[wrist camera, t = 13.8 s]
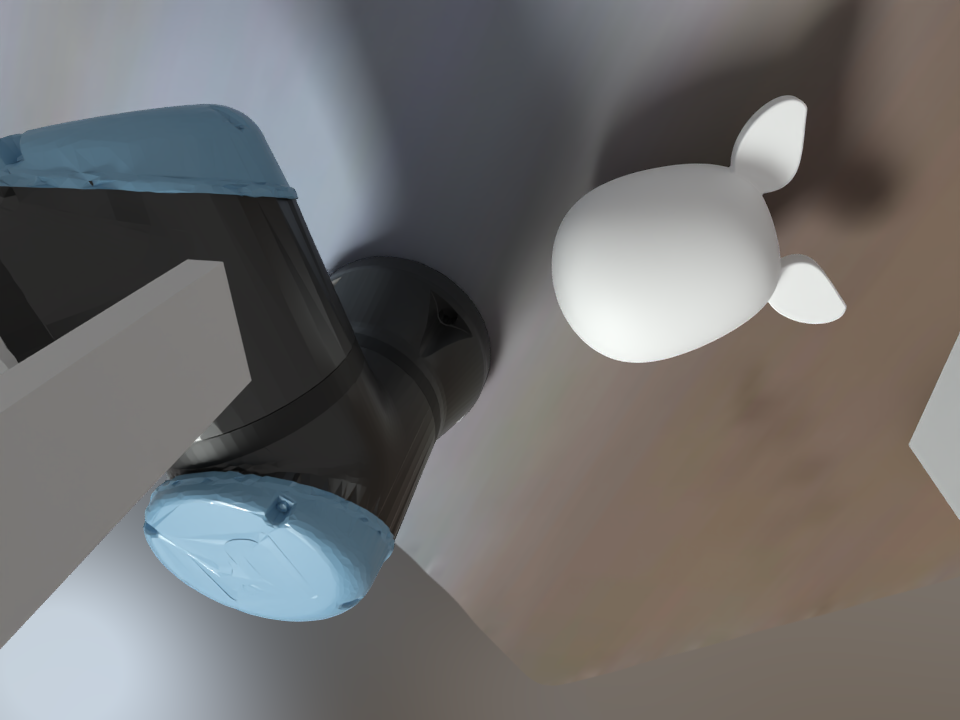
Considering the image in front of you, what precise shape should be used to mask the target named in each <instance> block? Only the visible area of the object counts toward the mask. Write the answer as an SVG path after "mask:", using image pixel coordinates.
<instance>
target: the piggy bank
mask: <svg viewBox="0 0 960 720" xmlns="http://www.w3.org/2000/svg"><path fill="white" fill-rule="evenodd" d="M806 116H807V106H806V104H805V103H804V102H803V101H802V100H800V99H798V98H797V97H795V96H791V95H785V96H780V97H777V98H775V99H773V100H771V101H769V102H768V103H766V104H765V105H764V106H762V107H761V108H760V109H759V110H758V111H757V112H756V113H755V114H754V115H753V116H752V117H751V118H750V119H749V120H748V121H747V123H746V124H745V125H744V127H743V128H742V130H741V132H740V133H739V135H738V137H737V139H736V142H735V144H734V147H733V151H732V155H731V165H730V167H724V166H720V165H714V164H680V165H671V166H664V167H658V168H653V169H648V170H644V171H639V172H636V173H632V174H628V175H625V176H622V177H619V178H617V179H614V180H612V181H609V182H607V183H605V184H603V185H600V186H599V187H597V188H595V189H593V190H592V191H590V192H589V193H587V194H586V195H584V196H583V197H582V198H581V199H579V200H578V201H577V202H576V203H575V204H574V205H573V206H572V208H571V209H570V210H569V211H568V213H567V214H566V216H565V217H564V219H563V220H562V222H561V224H560V227H559V229H558V232H557V234H556V238H555V241H554V246H553V252H552V279H553V286H554V290H555V294H556V298H557V301H558V303H559V306H560V308H561V310H562V312H563V314H564V316H565V318H566V320H567V321H568V323H569V324H570V326H571V327H572V329H573V330H574V331H575V332H576V334H577V335H578V336H579V337H580V338H581V339H582V340H583V341H584V342H585V343H586V344H588V345H589V346H590V347H591V348H593V349H594V350H596V351H597V352H599V353H601V354H603V355H605V356H607V357H609V358H612V359H615V360H619V361H624V362H633V363H642V362H653V361H659V360H663V359H667V358H671V357H675V356H678V355H681V354H684V353H687V352H689V351H692V350H694V349H697V348H699V347H702V346H704V345H706V344H708V343H710V342H713V341H715V340H716V339H718V338H720V337H722V336H724V335H726V334H728V333H729V332H731V331H733V330H735V329H736V328H738V327H739V326H741V325H742V324H744V323H745V322H747V321H748V320H749V319H751V318H752V317H753V316H754V315H755V314H757V313H758V312H759V311H760V310H761V309H762V308H763V307H764V306H765V304H766V303H767V302H769V304H770V305H771V306H772V307H773V308H774V309H775V310H776V311H777V312H779V313H780V314H782V315H783V316H785V317H787V318H789V319H792V320H795V321H798V322H803V323H810V324H821V323H828V322H832V321H834V320H836V319H838V318H840V317H841V316H842V315H843V314H844V312H845V310H846V304H845V302H844V301H843V299H842V298H841V296H840V295H839V293H838V291H837V290H836V288H835V287H834V285H833V284H832V282H831V281H830V279H829V278H828V276H827V275H826V274H825V272H824V271H823V269H822V268H821V267H820V266H819V265H818V264H817V263H816V262H815V261H814V260H813V259H812V258H810V257H808V256H806V255H802V254H792V255H788V256H785V257H783V258H780V249H779V243H778V239H777V234H776V230H775V227H774V223H773V220H772V217H771V214H770V212H769V209H768V207H767V204H766V202H765V200H764V198H763V196H762V195H763V194H764V193H768V192H773V191H776V190H779V189H781V188H783V187H784V186H786V185H787V184H788V183H789V182H790V181H791V180H792V179H793V177H794V176H795V174H796V172H797V170H798V167H799V164H800V160H801V156H802V151H803V144H804V135H805V125H806Z"/></svg>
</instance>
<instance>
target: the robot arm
mask: <svg viewBox="0 0 960 720" xmlns="http://www.w3.org/2000/svg"><path fill="white" fill-rule="evenodd" d="M296 199H298V196H297V193H296V191H295V189H294V188H291V187H290V186H289V184H288V182H287V181H286V179H285V177H284V175H283V173H282V171H281V169H280V167H279V165H278V163H277V161H276V159H275V157H274V155H273V153H272V151H271V149H270V147H269V145H268V144H267V142H266V140H265V137H264V135H263V133H262V132H261V130H260V129H259V127H258V126H257V125H256V124H255V122H253V121H252V120H251V119H250V118H249V117H248V116H246V115H245V114H243V113H242V112H240V111H238V110H235V109H233V108H230V107H227V106H223V105H216V104H197V105H184V106H173V107H164V108H156V109H148V110H141V111H133V112H126V113H120V114H113V115H107V116H100V117H94V118H89V119H83V120H77V121H72V122H67V123H61V124H56V125H51V126H46V127H42V128H37V129H33V130H28V131H26V132H25V133H23V134H14V135H10V136H7V137H4V138H0V649H1V647H3V646H4V645H5V643H6V642H7V641H8V640H9V639H10V638H11V637H12V636H13V635H14V634H15V633H16V632H17V630H19V628H20V627H21V626H22V625H23V624H24V623H25V622H26V621H27V620H28V619H29V618H30V617H31V616H32V615H33V614H34V612H35V611H36V610H37V609H38V608H39V607H40V606H41V605H42V604H43V603H44V602H45V601H46V600H47V599H48V598H49V596H50V595H51V594H52V593H53V592H54V591H55V590H56V589H57V588H58V587H59V586H60V585H61V584H62V583H63V581H64V580H65V579H66V578H67V577H68V576H69V575H70V574H71V573H72V572H73V571H74V570H75V569H76V568H77V567H78V565H79V564H80V563H81V562H82V561H83V560H84V559H85V558H86V557H87V556H88V555H89V554H90V552H92V550H93V549H94V548H95V547H96V546H97V545H98V544H99V543H100V542H101V541H102V540H103V539H104V538H105V536H107V534H108V533H109V532H110V531H111V530H112V529H113V528H114V527H115V526H116V525H117V524H118V523H119V522H120V521H121V519H122V518H123V517H124V516H125V515H126V514H127V513H128V512H129V511H130V510H131V509H132V508H133V507H134V506H135V505H136V503H137V502H138V501H139V500H140V499H141V498H142V497H143V496H144V495H145V494H146V493H147V492H148V490H149V489H150V488H151V487H152V486H153V485H154V484H155V483H156V482H157V481H158V480H159V479H160V478H161V477H162V476H163V475H164V474H165V473H166V475H167V480H166V481H165V482H164V483H163V484H161V485H160V486H158V487H157V488H156V490H155V491H154V492H153V493H152V495H151V499H150V504H149V505H148V507H147V508H146V511H145V520H146V521H145V523H144V526H143V527H144V534H145V537H146V540H147V542H148V544H149V546H150V548H151V549H152V551H153V552H154V554H155V555H156V556H157V558H158V559H159V560H160V561H161V562H162V564H163V565H164V566H165V567H166V568H167V569H168V570H169V571H170V572H172V573H173V574H174V575H175V576H176V577H177V578H179V579H180V580H181V581H183V582H184V583H185V584H187V585H188V586H190V587H191V588H193V589H195V590H197V591H198V592H199V593H201V594H203V595H205V596H207V597H209V598H210V599H212V600H215V601H217V602H219V603H221V604H224V605H226V606H229V607H232V608H235V609H237V610H239V611H242V612H245V613H248V614H252V615H255V616H260V617H264V618H269V619H275V620H283V621H313V620H322V619H326V618H330V617H333V616H336V615H338V614H341V613H343V612H345V611H347V610H349V609H351V608H352V607H353V606H355V605H356V604H357V603H358V602H359V601H360V600H361V599H362V598H363V597H364V596H365V595H366V593H367V592H368V591H369V589H370V588H371V586H372V584H373V582H374V580H375V578H376V576H377V574H378V572H379V570H380V568H381V566H382V564H383V562H384V561H385V560H386V559H387V558H388V557H389V556H390V555H391V554H392V551H393V549H394V545H395V544H394V542H395V538H396V536H397V534H398V531H399V529H400V526H401V524H402V521H403V519H404V516H405V514H406V512H407V509H408V507H409V504H410V502H411V499H412V497H413V494H414V492H415V490H416V487H417V485H418V482H419V480H420V477H421V475H422V472H423V470H424V468H425V465H426V463H427V460H428V458H429V456H430V453H431V451H432V449H433V446H434V444H435V441H436V440H437V439H438V438H440V437H441V436H442V435H443V434H444V433H446V432H447V431H448V430H449V429H450V428H451V427H452V426H453V425H455V424H456V423H457V422H458V421H460V420H461V419H462V418H463V417H464V416H465V415H466V414H467V413H468V412H469V411H470V410H471V408H472V407H473V406H474V404H475V403H476V401H477V400H478V398H479V396H480V394H481V391H482V389H483V386H484V383H485V381H486V378H487V375H488V371H489V367H490V356H491V352H490V342H489V337H488V333H487V330H486V327H485V324H484V322H483V320H482V318H481V316H480V314H479V312H478V310H477V309H476V307H475V306H474V304H473V303H472V302H471V300H470V299H469V298H468V297H467V295H466V294H465V293H464V292H463V291H462V290H461V289H460V288H459V287H458V286H457V285H455V284H454V283H453V282H452V281H451V280H449V279H448V278H447V277H445V276H444V275H442V274H441V273H439V272H437V271H435V270H434V269H432V268H429V267H427V266H425V265H423V264H420V263H417V262H414V261H411V260H407V259H402V258H396V257H372V258H366V259H361V260H358V261H355V262H352V263H350V264H348V265H346V266H344V267H342V268H340V269H339V270H337V271H336V272H335V273H333V274H332V275H331V276H330V277H329V275H328V273H327V270H326V268H325V266H324V264H323V261H322V259H321V257H320V255H319V252H318V250H317V248H316V246H315V243H314V241H313V239H312V237H311V234H310V232H309V230H308V227H307V225H306V223H305V220H304V218H303V216H302V213H301V211H300V208H299V206H298V204H297V201H296ZM909 446H910V448H911V449H912V451H913V452H914V454H915V455H916V457H917V458H918V460H919V461H920V462H921V464H922V465H923V467H924V468H925V470H926V471H927V473H928V474H929V476H930V477H931V479H932V480H933V482H934V483H935V485H936V486H937V487H938V489H939V490H940V492H941V493H942V495H943V496H944V498H945V499H946V501H947V502H948V504H949V505H950V507H951V508H952V509H953V511H954V512H955V514H956V515H957V517H958V518H959V520H960V333H959V335H958V338H957V340H956V342H955V344H954V346H953V349H952V351H951V353H950V355H949V357H948V360H947V362H946V364H945V366H944V368H943V371H942V373H941V375H940V377H939V379H938V381H937V384H936V386H935V388H934V390H933V392H932V395H931V397H930V399H929V401H928V403H927V406H926V408H925V410H924V412H923V414H922V417H921V419H920V421H919V423H918V425H917V428H916V430H915V432H914V434H913V436H912V438H911V441H910V443H909Z"/></svg>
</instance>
